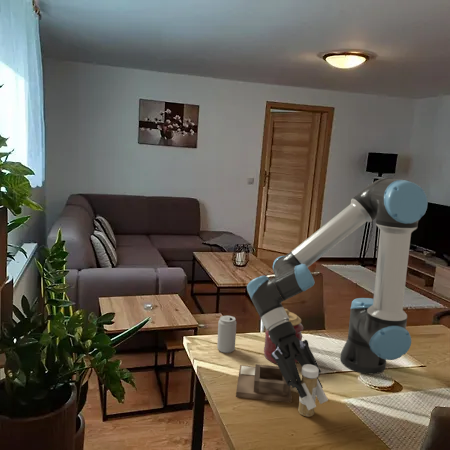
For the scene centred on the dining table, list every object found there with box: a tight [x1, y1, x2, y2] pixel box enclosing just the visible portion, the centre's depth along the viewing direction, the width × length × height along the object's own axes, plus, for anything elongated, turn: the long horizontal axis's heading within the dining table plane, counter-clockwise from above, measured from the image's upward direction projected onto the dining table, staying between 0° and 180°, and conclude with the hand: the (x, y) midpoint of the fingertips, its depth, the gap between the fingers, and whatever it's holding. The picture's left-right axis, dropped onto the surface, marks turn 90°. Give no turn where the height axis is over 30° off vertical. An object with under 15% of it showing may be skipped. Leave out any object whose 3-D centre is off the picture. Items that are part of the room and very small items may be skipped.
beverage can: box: [216, 315, 237, 354], centre depth 153 cm, size 6×6×12 cm
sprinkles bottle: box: [297, 364, 319, 417], centre depth 118 cm, size 5×5×13 cm
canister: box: [263, 308, 304, 365], centre depth 149 cm, size 13×13×18 cm
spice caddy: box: [235, 363, 293, 403], centre depth 131 cm, size 16×16×5 cm
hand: (318, 405), depth 115 cm, fingers closed on sprinkles bottle, 4 cm apart
